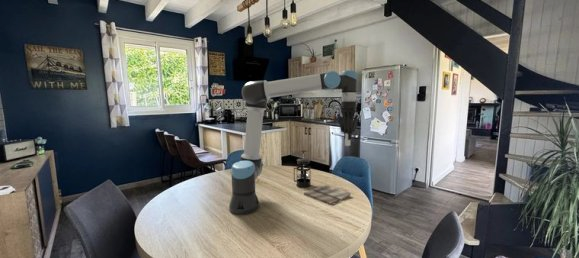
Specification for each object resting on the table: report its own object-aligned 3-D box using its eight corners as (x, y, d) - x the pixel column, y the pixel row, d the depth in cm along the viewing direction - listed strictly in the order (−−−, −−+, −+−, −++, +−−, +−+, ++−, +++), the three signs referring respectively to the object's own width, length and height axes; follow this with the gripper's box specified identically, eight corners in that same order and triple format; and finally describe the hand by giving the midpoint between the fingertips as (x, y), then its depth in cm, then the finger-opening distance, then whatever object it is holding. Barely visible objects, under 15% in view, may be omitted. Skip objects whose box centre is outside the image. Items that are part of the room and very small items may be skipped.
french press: (309, 182, 163) (309, 148, 161) (313, 187, 154) (313, 151, 152) (292, 183, 162) (292, 149, 159) (295, 188, 152) (295, 152, 150)
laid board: (303, 194, 142) (303, 192, 142) (312, 191, 147) (312, 188, 147) (330, 205, 127) (330, 202, 127) (339, 201, 132) (339, 198, 132)
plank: (314, 190, 147) (313, 188, 147) (323, 186, 153) (323, 184, 153) (340, 200, 132) (340, 198, 132) (350, 195, 138) (350, 192, 138)
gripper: (334, 101, 129) (333, 144, 132) (355, 100, 120) (354, 148, 122) (342, 101, 134) (341, 143, 137) (363, 100, 125) (362, 146, 127)
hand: (347, 145), depth 130 cm, fingers closed
